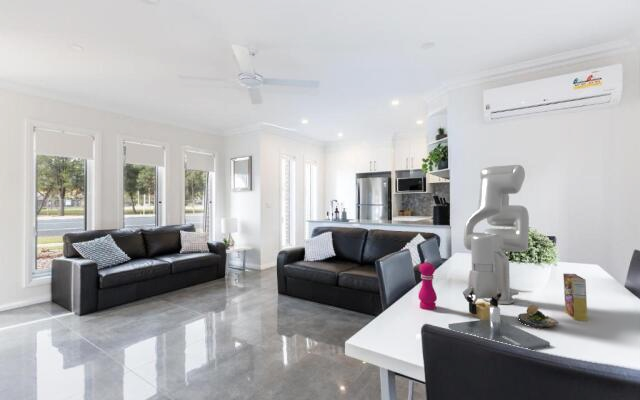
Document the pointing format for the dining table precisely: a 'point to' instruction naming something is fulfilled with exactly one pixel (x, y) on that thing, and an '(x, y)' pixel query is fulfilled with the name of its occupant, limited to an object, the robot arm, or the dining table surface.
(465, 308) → the dining table surface
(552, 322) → the plate of food
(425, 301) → the pepper mill
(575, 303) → the candy box
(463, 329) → the hub plate
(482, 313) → the yellow socket block
